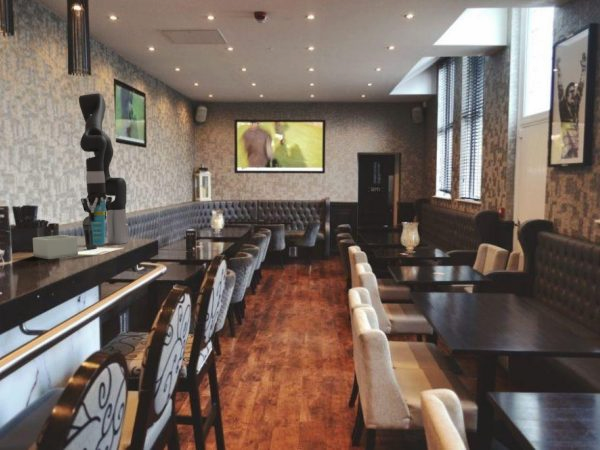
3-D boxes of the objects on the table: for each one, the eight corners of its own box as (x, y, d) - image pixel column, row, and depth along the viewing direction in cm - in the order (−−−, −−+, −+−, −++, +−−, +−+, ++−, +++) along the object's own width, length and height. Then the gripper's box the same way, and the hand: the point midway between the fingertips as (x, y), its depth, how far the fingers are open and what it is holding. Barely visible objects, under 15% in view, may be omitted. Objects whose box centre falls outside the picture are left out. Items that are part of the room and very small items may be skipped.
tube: (89, 245, 234) (86, 201, 232) (91, 243, 239) (89, 200, 237) (106, 244, 235) (104, 200, 233) (109, 243, 240) (106, 200, 238)
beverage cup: (79, 249, 254) (77, 206, 252) (92, 247, 260) (90, 205, 258) (90, 250, 250) (88, 207, 248) (103, 248, 257) (101, 206, 255)
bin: (62, 252, 244) (61, 235, 243) (78, 255, 236) (77, 237, 235) (33, 256, 233) (32, 237, 233) (48, 259, 225) (47, 240, 225)
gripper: (105, 181, 242) (107, 219, 244) (75, 182, 231) (77, 222, 233) (115, 181, 237) (117, 220, 239) (85, 182, 226) (87, 223, 228)
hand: (97, 220), depth 236 cm, fingers closed on tube, 4 cm apart
